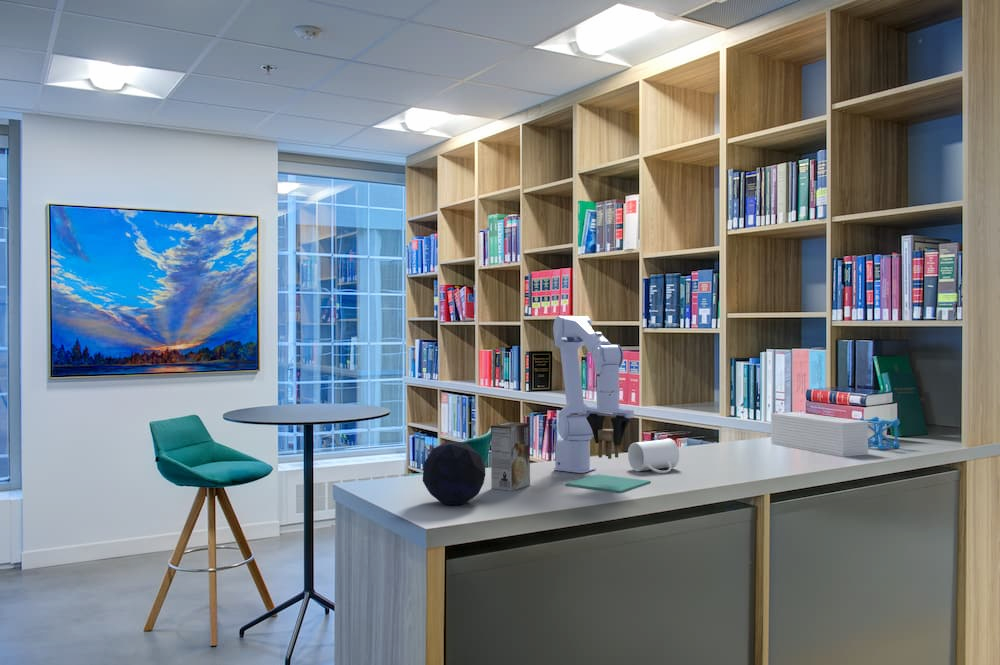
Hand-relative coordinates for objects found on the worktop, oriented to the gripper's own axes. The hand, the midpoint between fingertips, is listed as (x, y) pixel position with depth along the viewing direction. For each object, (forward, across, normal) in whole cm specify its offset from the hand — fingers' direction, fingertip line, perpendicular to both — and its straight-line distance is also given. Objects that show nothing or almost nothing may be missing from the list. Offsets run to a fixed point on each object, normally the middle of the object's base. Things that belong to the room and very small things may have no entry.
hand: (608, 444), depth 204 cm
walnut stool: (+3, 0, 0) cm, 3 cm away
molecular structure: (+11, -31, -112) cm, 117 cm away
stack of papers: (+11, -16, -97) cm, 99 cm away
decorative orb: (+11, +13, +42) cm, 46 cm away
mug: (+7, 0, -32) cm, 32 cm away
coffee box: (+11, +16, +20) cm, 28 cm away
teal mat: (+10, 0, 0) cm, 10 cm away
